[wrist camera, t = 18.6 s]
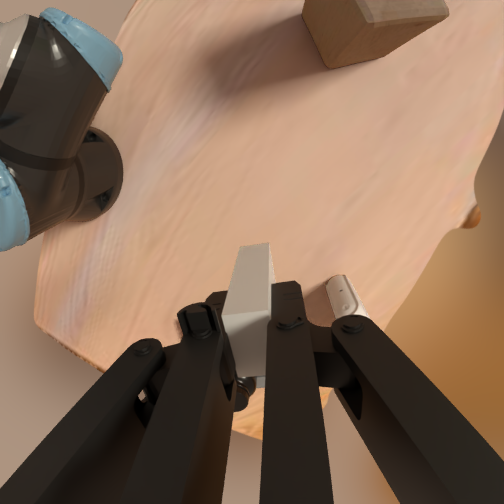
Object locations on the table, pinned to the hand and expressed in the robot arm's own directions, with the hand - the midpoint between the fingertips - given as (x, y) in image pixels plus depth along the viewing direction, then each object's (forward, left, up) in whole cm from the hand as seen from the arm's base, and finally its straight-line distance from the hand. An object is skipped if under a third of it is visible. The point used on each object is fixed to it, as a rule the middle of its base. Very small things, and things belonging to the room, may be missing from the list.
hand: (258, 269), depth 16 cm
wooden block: (+15, +21, -30) cm, 39 cm away
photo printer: (+10, -20, -30) cm, 37 cm away
